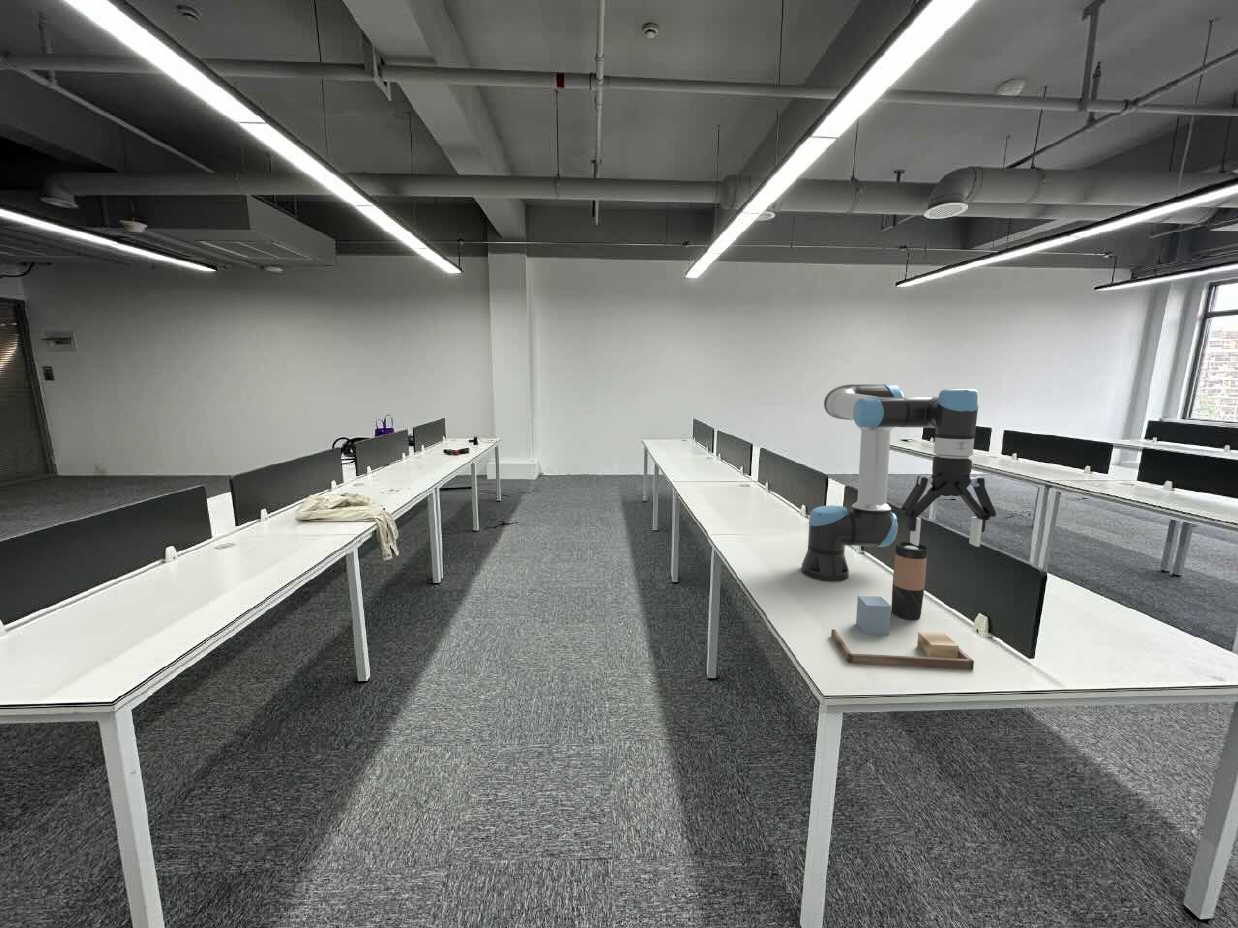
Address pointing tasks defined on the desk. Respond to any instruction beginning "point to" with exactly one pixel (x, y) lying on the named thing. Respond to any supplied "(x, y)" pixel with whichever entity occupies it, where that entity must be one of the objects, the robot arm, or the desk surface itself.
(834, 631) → the bay
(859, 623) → the slate block
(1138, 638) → the desk surface
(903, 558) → the travel mug
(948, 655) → the oak block
